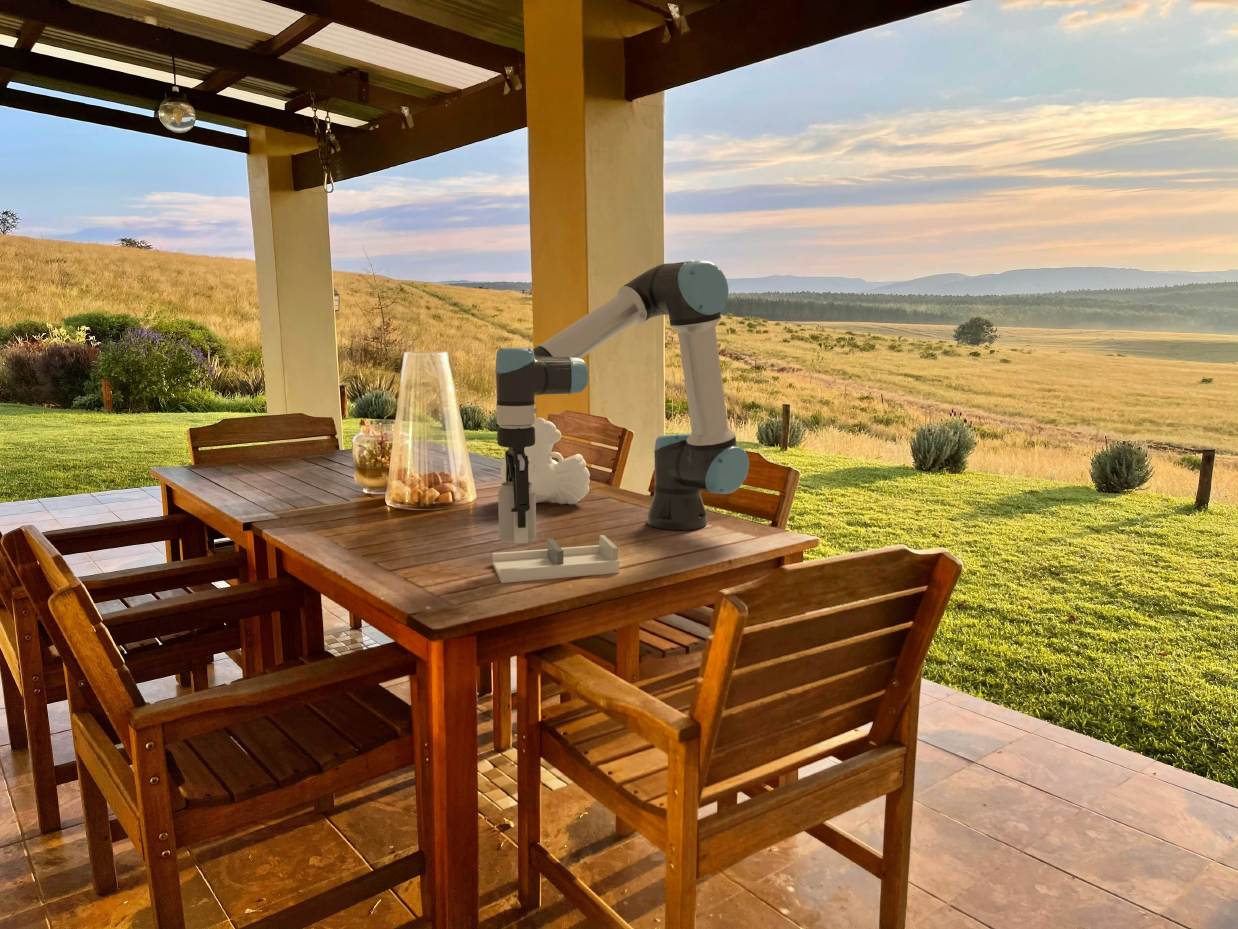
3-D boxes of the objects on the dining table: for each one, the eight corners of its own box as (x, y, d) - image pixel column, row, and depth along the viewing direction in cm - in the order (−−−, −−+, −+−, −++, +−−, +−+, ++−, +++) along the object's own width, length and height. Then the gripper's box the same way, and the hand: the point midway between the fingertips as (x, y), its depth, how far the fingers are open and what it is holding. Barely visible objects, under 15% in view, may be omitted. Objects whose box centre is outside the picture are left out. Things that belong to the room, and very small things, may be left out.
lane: (602, 555, 178) (602, 533, 177) (619, 572, 165) (619, 549, 164) (492, 564, 171) (492, 541, 170) (501, 582, 159) (500, 558, 158)
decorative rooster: (483, 479, 230) (514, 416, 216) (518, 461, 243) (550, 400, 228) (545, 538, 225) (581, 477, 210) (578, 517, 237) (614, 458, 223)
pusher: (553, 556, 173) (552, 538, 172) (563, 570, 163) (563, 551, 163) (547, 556, 173) (547, 538, 172) (557, 570, 163) (557, 551, 162)
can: (540, 537, 168) (540, 480, 166) (529, 546, 161) (528, 487, 159) (506, 535, 169) (505, 478, 167) (493, 544, 162) (492, 485, 160)
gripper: (544, 431, 152) (545, 549, 156) (526, 420, 172) (527, 525, 175) (504, 432, 150) (506, 552, 154) (490, 421, 170) (492, 527, 173)
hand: (517, 537), depth 165 cm, fingers closed on can, 7 cm apart
